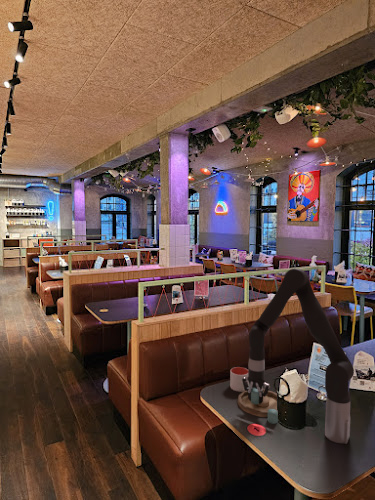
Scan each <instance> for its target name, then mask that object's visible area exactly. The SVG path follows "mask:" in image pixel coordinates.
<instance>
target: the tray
mask: <svg viewBox="0 0 375 500" xmlns="http://www.w3.org/2000/svg"><path fill="white" fill-rule="evenodd" d="M264 391H265V388H263V393H264ZM277 394H278V393H276V392H275V391H272V390H269V391H268V394H267V395H266V396H265V397H264V396H263V402H262V403H261V404H257V405H256V404H252V403H251V401H250V400H249V398H248V391H242V392H241V393H240V394H239V395H238V397H237V405H238V407H239V408H240V409H241V410H242V411H244V412H245V413H248V414H250V415H253V416H257V417H261V418H262V417H263V418H268V410H269V409H275V410H277ZM277 411H278V410H277Z"/></svg>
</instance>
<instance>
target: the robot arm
mask: <svg viewBox="0 0 375 500" xmlns="http://www.w3.org/2000/svg"><path fill="white" fill-rule="evenodd" d="M294 294H296V297H297V299H298V301H299V303H300V308H301V313H302V316H303V321H304V322H305V325H306V327H307V328H308V331H309V333H310V334H311V336H312V337H313V338H314V340H315V341H316V342H317V343H318V344H319V345H320V346H321V347H322V348H323V350H324V352H325V353H326V354H327V357H328V360H329V362H330V363H329V364H328V365H327V366H326V368H325V373H324V374H325V376H324V379H325V380H324V383H325V384H324V389H325V393H326V399H325V401H326V402H325V403H326V404H325V419H324V422H325V423H324V424H325V425H324V435H325V437H326V438H327V440H329V441H331V442H333V443H337V444H345V445H347V444H348V442H349V439H350V433H351V414H350V413H351V398H352V397H351V392H350V391H349V383H350V382H349V381H350V380H351V379H352V378H353V376H354V375H355V369H354V368H355V367H354V366H353V364H352V362H351V359H349V357H348V356H347V354H346V352H345V350H344V349H343V347H342V345H341V343H340V342H339V340H338V337H337V335H336V334H335V331H334V329H333V327H332V324H331V323H330V321H329V318H328V316H327V315H326V312H325V311H324V308H323V307H322V305H321V303H320V301H319V300H318V298H317V296H316V294H315V292H314V290H313V287H312V284H311V281H310V279H309V276H308V274H307V272H306V271H304V270H303V269H301V268H291V269H289V270H287V271H286V272H285V275H284V277H283V279H282V281H281V283H280V285H279V287H278V289H277V291H276V292H275V294H274V296H273V297H272V298H271V300H270V302H269V303H268V304H267V306H266V307H265V308H264V310H263V312H262V313H261V314H260V316H259V317H258V318H257V320H256V321H255V322H254V324H252V327H251V328H250V330H249V334H248V341H249V353H248V355H249V356H248V357H249V358H248V365H247V366H248V367H247V368H248V369H247V370H248V377H244V378H243V379H242V381H243V385H244V389H245V391H248V398H249V400H250V401H251V390H252V389H253V388H256V389H257V390H258V392H259V404H261V403H262V402H263V396H264V397H265V396H266V395H267V394H268V391H270V389H271V383H267V382H266V380H265V371H266V370H265V367H266V364H265V355H266V354H265V352H266V351H265V347H264V346H265V337H266V334H267V333H268V331H269V330H270V328H271V327H273V325H275V323H276V322H277V320H278V319H279V318H280V316H281V315H282V313H283V311H284V309H285V308H286V305H287V304H288V301H289V300H290V299H291V297H292V296H293V295H294ZM248 382H249V385H250V386H248ZM263 386H264V387H263ZM263 389H265V391H264V393H263Z"/></svg>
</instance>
